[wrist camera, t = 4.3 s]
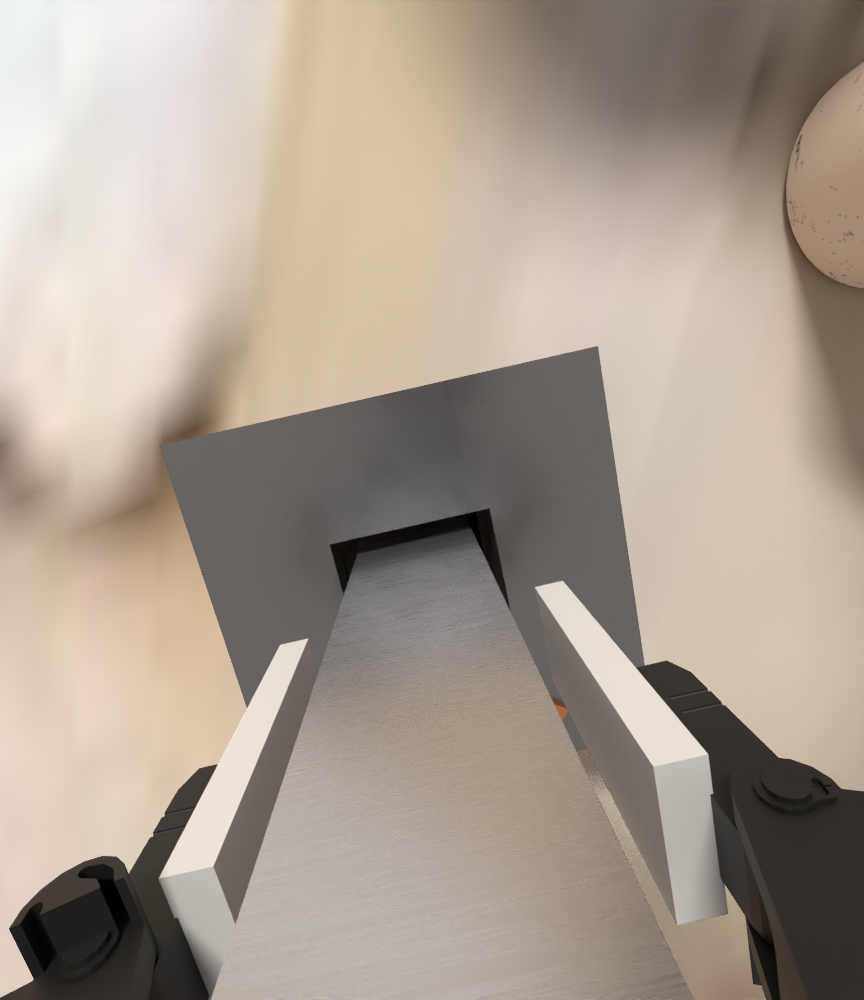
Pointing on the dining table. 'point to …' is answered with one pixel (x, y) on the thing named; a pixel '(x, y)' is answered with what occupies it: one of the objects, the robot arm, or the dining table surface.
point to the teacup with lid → (831, 182)
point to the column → (439, 813)
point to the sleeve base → (412, 504)
